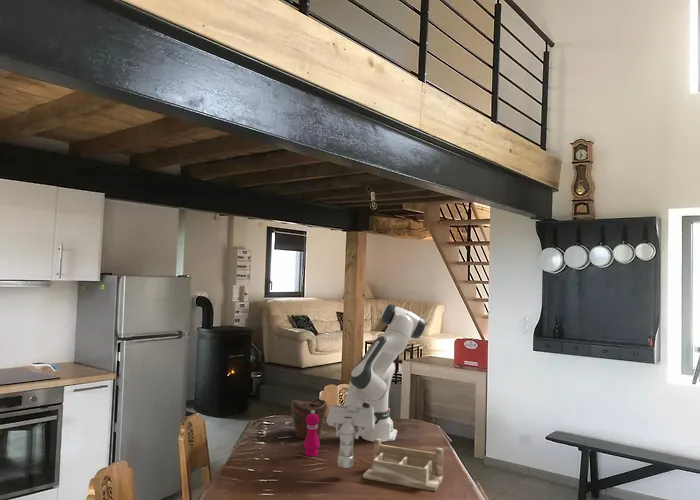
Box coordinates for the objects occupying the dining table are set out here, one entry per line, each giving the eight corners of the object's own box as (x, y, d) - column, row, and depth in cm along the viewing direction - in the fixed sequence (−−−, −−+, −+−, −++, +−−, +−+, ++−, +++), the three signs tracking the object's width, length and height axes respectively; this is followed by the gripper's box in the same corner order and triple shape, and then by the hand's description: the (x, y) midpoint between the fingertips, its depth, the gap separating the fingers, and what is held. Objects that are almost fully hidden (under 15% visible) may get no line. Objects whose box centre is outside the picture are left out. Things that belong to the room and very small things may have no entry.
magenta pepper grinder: (317, 457, 241) (318, 412, 242) (301, 456, 243) (302, 411, 243) (321, 452, 249) (322, 408, 249) (306, 450, 250) (307, 407, 250)
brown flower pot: (334, 432, 278) (334, 397, 278) (311, 443, 261) (311, 405, 261) (307, 426, 287) (307, 393, 288) (283, 436, 270) (283, 400, 271)
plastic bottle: (336, 463, 224) (339, 415, 225) (352, 464, 224) (355, 415, 225) (337, 469, 217) (340, 419, 218) (354, 469, 218) (356, 419, 219)
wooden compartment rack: (374, 466, 233) (375, 438, 233) (443, 477, 222) (443, 448, 222) (363, 478, 220) (363, 448, 220) (435, 491, 208) (435, 460, 209)
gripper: (329, 400, 231) (321, 430, 221) (375, 405, 225) (369, 436, 216) (332, 408, 235) (324, 437, 226) (377, 413, 230) (371, 443, 220)
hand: (346, 436), depth 221 cm, fingers closed on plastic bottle, 6 cm apart
